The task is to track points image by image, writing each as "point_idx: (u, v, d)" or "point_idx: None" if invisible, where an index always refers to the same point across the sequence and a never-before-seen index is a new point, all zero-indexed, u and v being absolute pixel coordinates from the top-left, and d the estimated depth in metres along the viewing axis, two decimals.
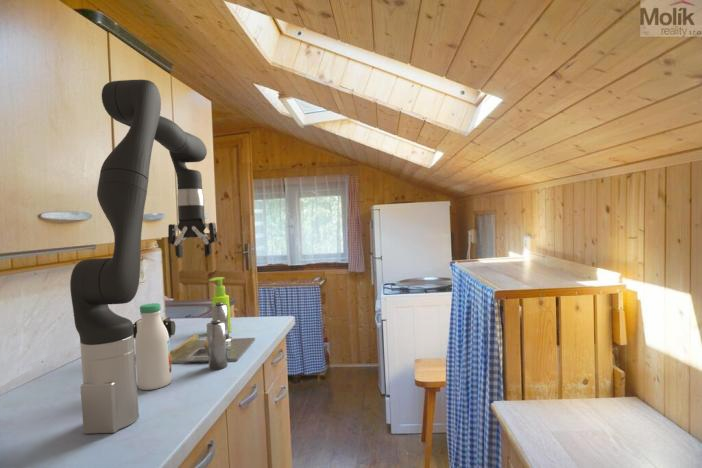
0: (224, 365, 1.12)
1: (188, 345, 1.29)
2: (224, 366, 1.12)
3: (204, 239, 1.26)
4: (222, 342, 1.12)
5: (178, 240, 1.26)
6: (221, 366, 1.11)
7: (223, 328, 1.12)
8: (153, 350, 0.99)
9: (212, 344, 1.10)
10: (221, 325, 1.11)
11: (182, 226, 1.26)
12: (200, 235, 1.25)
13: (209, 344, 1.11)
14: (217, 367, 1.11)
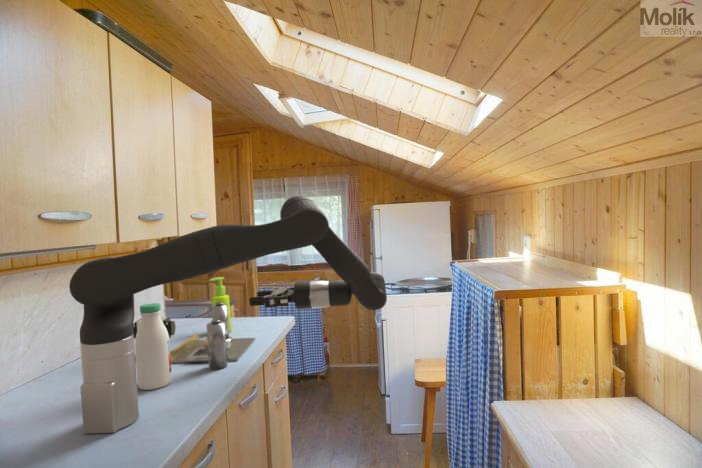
0: (224, 365, 1.12)
1: (188, 345, 1.29)
2: (224, 366, 1.12)
3: (269, 295, 1.08)
4: (222, 342, 1.12)
5: (275, 290, 1.16)
6: (221, 366, 1.11)
7: (223, 328, 1.12)
8: (153, 350, 0.99)
9: (212, 344, 1.10)
10: (221, 325, 1.11)
11: (289, 290, 1.15)
12: (275, 292, 1.09)
13: (209, 344, 1.11)
14: (217, 367, 1.11)
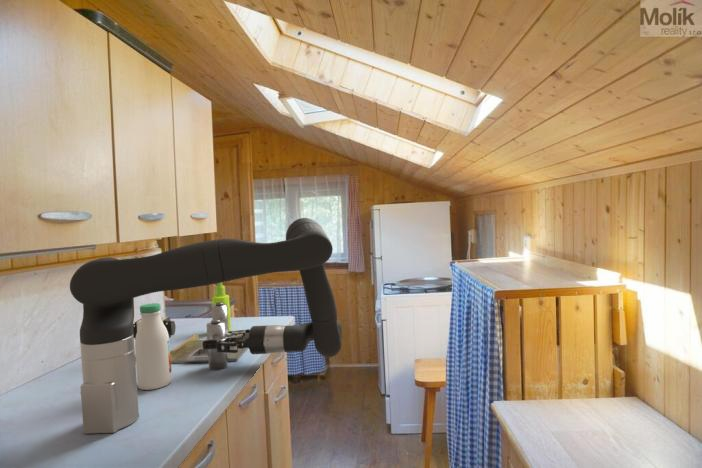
0: (224, 365, 1.12)
1: (188, 345, 1.29)
2: (224, 366, 1.12)
3: (223, 339, 1.10)
4: None
5: (229, 333, 1.15)
6: (221, 366, 1.11)
7: (223, 328, 1.12)
8: (153, 350, 0.99)
9: None
10: (221, 325, 1.11)
11: (247, 333, 1.15)
12: (229, 337, 1.10)
13: None
14: (217, 367, 1.11)
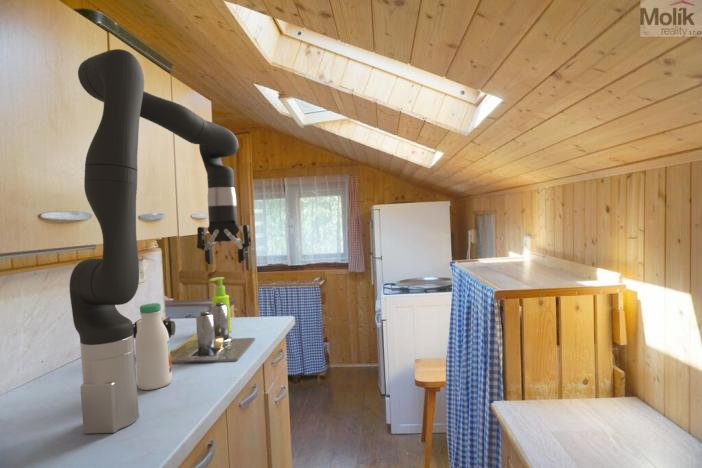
0: (212, 354, 1.19)
1: (188, 345, 1.29)
2: (212, 355, 1.19)
3: (238, 243, 1.12)
4: (211, 332, 1.19)
5: (208, 244, 1.13)
6: (209, 355, 1.19)
7: (211, 319, 1.20)
8: (153, 350, 0.99)
9: (201, 334, 1.18)
10: (209, 316, 1.19)
11: (213, 229, 1.13)
12: (233, 239, 1.12)
13: (198, 334, 1.18)
14: (206, 355, 1.18)
